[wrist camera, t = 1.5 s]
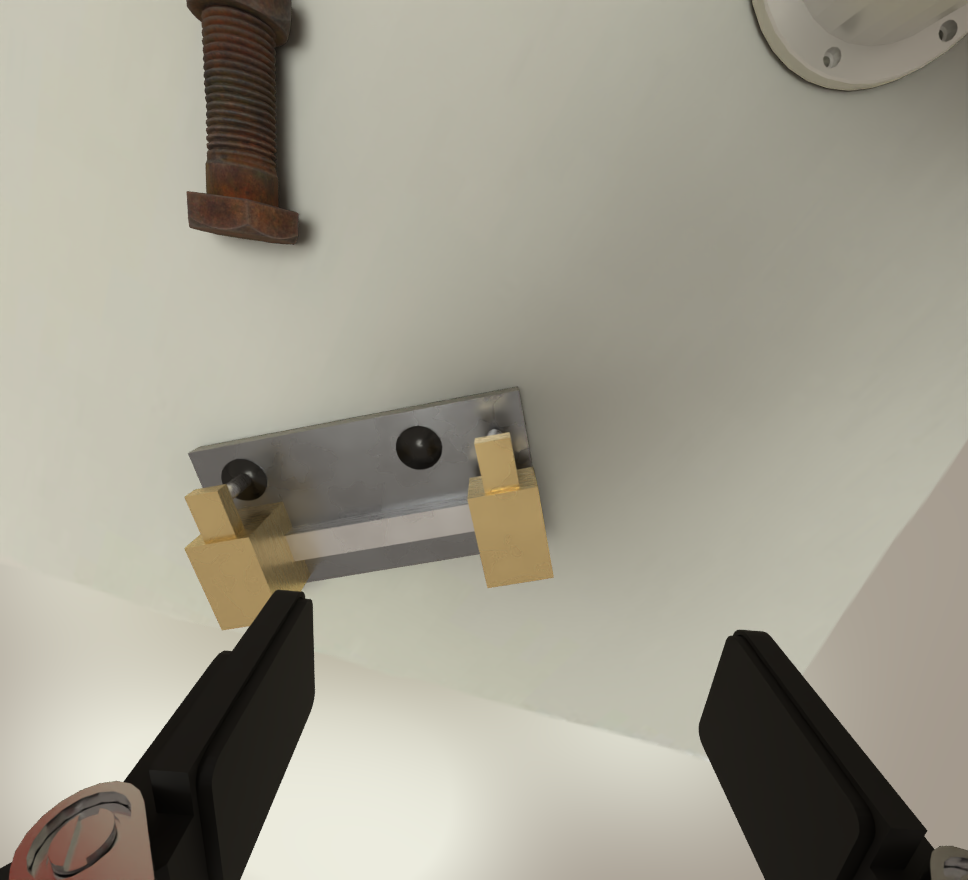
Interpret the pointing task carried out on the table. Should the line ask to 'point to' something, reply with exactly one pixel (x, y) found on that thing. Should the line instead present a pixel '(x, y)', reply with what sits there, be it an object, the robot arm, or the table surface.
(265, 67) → the bolt
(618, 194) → the table surface
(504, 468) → the block
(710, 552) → the table surface
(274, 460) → the hole plate
